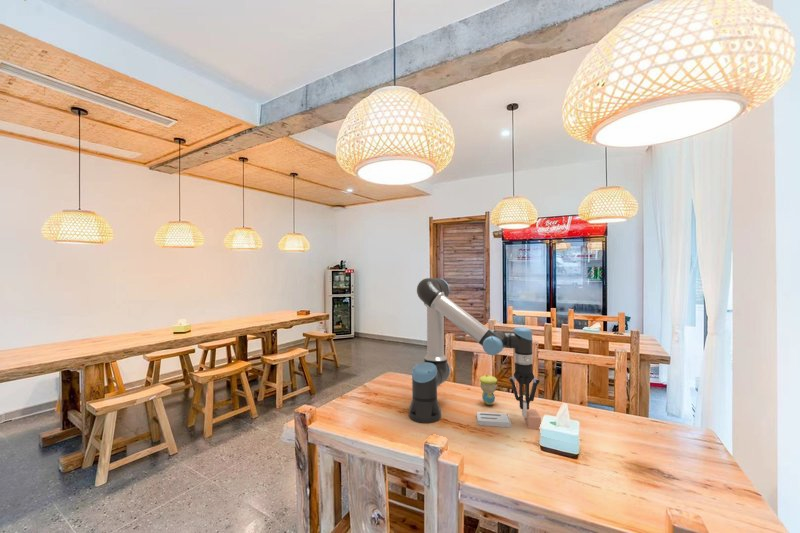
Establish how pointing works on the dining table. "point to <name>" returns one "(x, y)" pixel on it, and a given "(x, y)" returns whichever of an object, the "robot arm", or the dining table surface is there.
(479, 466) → the dining table surface
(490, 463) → the dining table surface
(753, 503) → the dining table surface
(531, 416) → the stub
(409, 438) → the dining table surface
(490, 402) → the toy
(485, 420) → the grey slotted block
